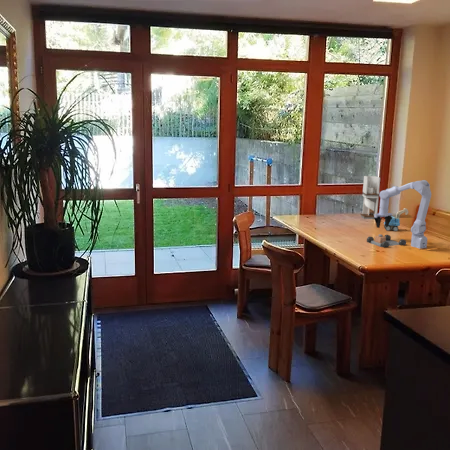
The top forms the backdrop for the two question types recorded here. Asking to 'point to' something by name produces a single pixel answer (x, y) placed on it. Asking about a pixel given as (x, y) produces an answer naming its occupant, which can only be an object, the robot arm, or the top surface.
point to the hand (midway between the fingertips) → (382, 227)
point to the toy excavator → (395, 221)
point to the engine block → (380, 238)
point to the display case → (370, 196)
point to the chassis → (386, 242)
